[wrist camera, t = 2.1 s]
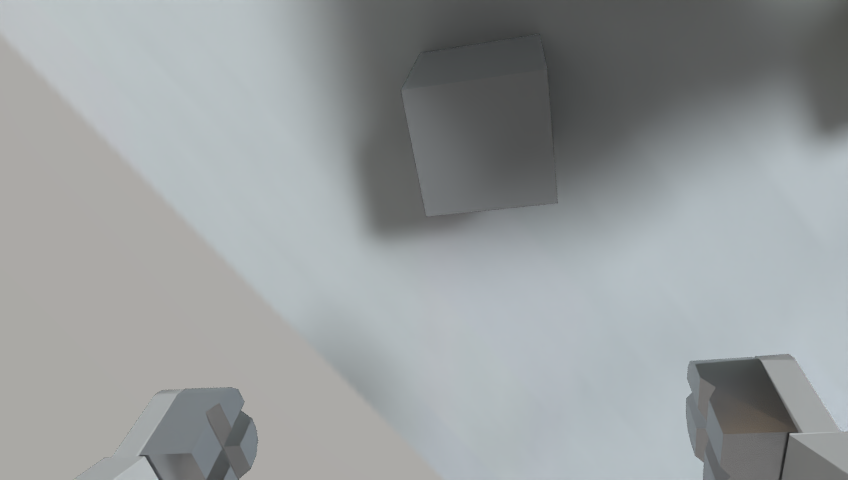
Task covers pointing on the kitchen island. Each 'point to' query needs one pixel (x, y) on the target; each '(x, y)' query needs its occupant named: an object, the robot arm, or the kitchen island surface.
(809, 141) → the kitchen island surface
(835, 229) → the kitchen island surface
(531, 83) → the grey block
